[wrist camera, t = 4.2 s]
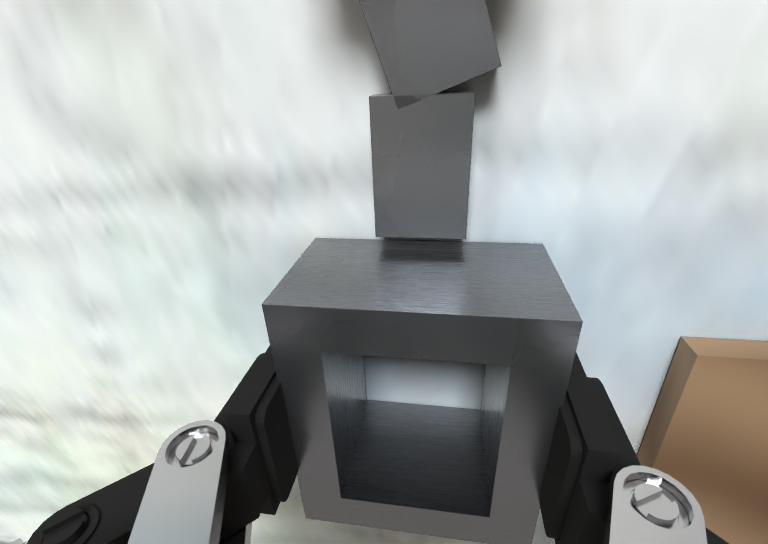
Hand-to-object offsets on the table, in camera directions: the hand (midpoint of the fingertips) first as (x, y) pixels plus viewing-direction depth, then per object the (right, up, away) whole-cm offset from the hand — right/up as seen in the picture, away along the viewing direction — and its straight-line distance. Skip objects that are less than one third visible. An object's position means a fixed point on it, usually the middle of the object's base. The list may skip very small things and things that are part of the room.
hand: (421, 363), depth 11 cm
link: (0, 0, +1) cm, 1 cm away
